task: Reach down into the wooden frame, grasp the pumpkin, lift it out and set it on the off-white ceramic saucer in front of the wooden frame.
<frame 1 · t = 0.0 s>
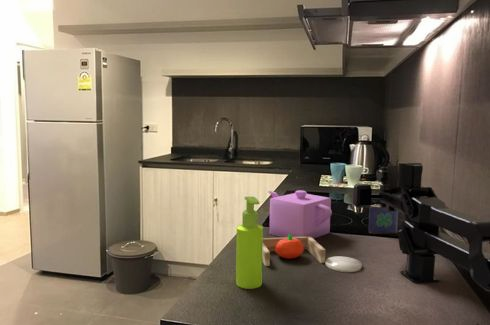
hand: (372, 189, 122), 17 cm above the countertop, tool horizontal, fingers open, 9 cm apart
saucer: (343, 265, 106), on the countertop
wooden frame: (288, 256, 113), on the countertop
flask: (382, 233, 136), on the countertop
teapot: (296, 233, 135), on the countertop
soap dispenser: (249, 285, 94), on the countertop
pumpkin: (289, 258, 112), on the countertop
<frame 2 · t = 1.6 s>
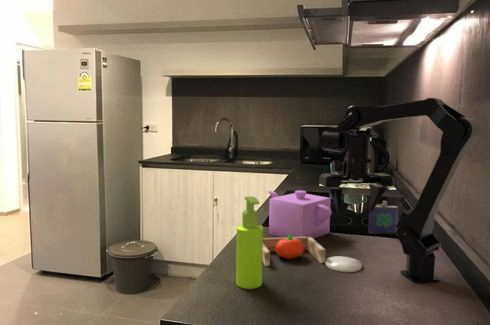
hand: (354, 212, 111), 13 cm above the countertop, tool pointing down, fingers open, 9 cm apart
nothing on the countertop moved.
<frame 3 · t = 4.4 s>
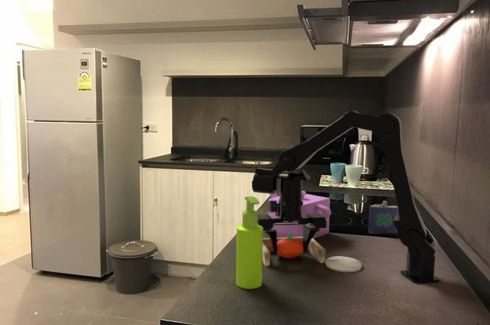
hand: (289, 252, 112), 1 cm above the countertop, tool pointing down, fingers closed on pumpkin, 7 cm apart
pumpkin: (289, 257, 112), on the countertop, touching gripper
everything else where it was.
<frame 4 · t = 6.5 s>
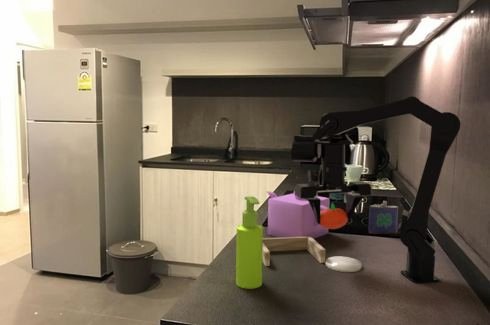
hand: (332, 222, 106), 11 cm above the countertop, tool pointing down, fingers closed on pumpkin, 7 cm apart
pumpkin: (332, 228, 107), point 9 cm above the countertop, touching gripper
everything else where it was.
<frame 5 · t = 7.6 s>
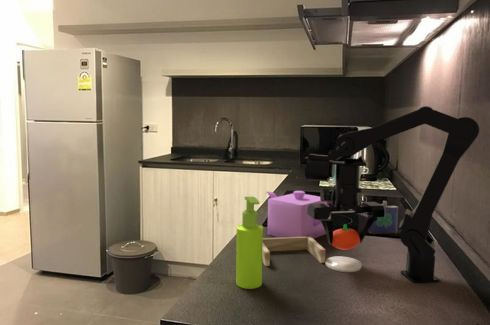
hand: (344, 243, 106), 6 cm above the countertop, tool pointing down, fingers closed on pumpkin, 7 cm apart
pumpkin: (344, 249, 106), point 4 cm above the countertop, touching gripper
everything else where it was.
when the fingers open (3 cm above the countertop, at t = 8.6 s): pumpkin stays where it is, resting on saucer.
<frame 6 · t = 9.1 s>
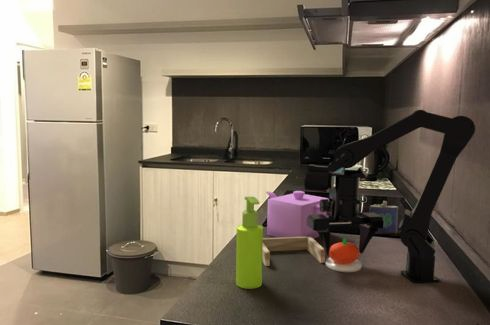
hand: (343, 254, 106), 3 cm above the countertop, tool pointing down, fingers open, 9 cm apart
pumpkin: (343, 263, 106), point 1 cm above the countertop, touching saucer
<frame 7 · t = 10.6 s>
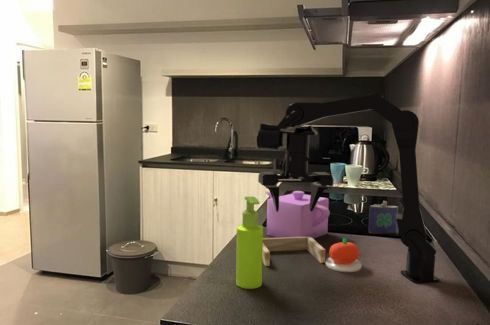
hand: (294, 211, 109), 13 cm above the countertop, tool pointing down, fingers open, 9 cm apart
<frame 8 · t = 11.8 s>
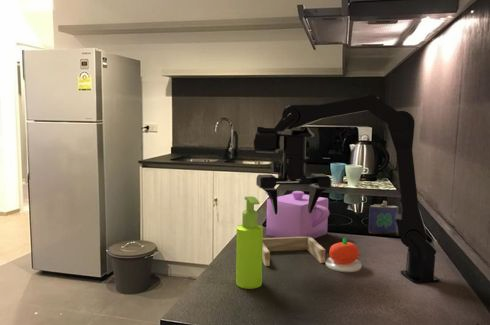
hand: (292, 213, 109), 12 cm above the countertop, tool pointing down, fingers open, 9 cm apart
at the end: pumpkin 0.1 cm from the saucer (horizontally); pumpkin point 0.6 cm above the countertop; the gripper is holding nothing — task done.
